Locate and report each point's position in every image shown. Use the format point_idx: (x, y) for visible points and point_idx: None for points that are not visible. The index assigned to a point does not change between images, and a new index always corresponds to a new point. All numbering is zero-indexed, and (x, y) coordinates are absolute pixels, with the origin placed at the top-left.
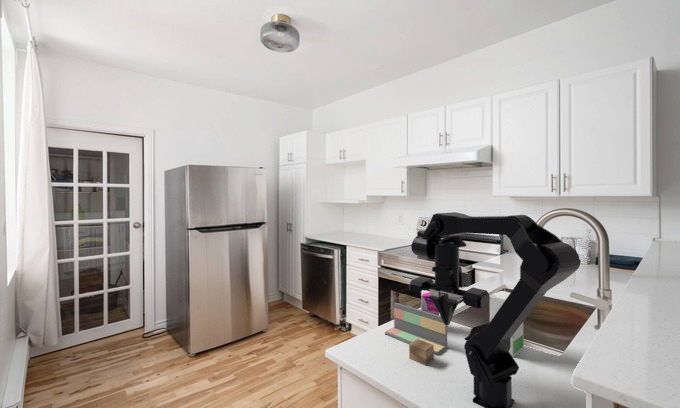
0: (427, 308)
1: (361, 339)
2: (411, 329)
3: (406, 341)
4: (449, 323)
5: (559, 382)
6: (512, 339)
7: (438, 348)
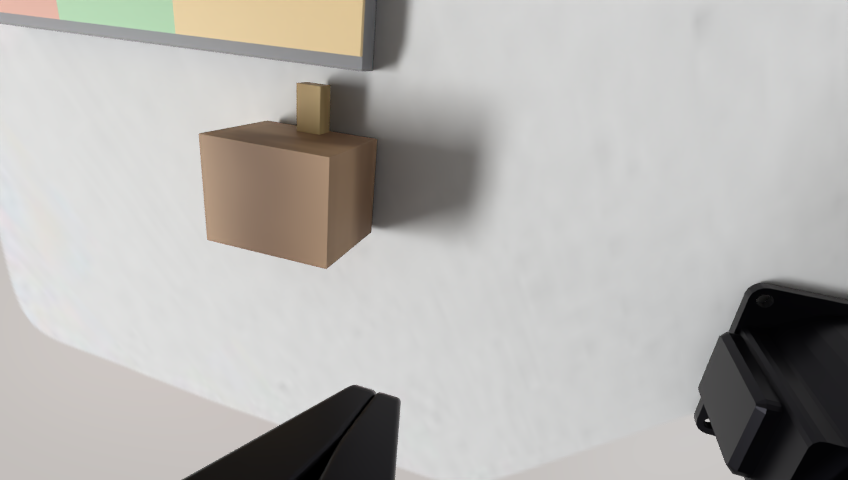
0: None
1: (3, 159)
2: None
3: (147, 42)
4: (398, 419)
5: None
6: None
7: (345, 3)
